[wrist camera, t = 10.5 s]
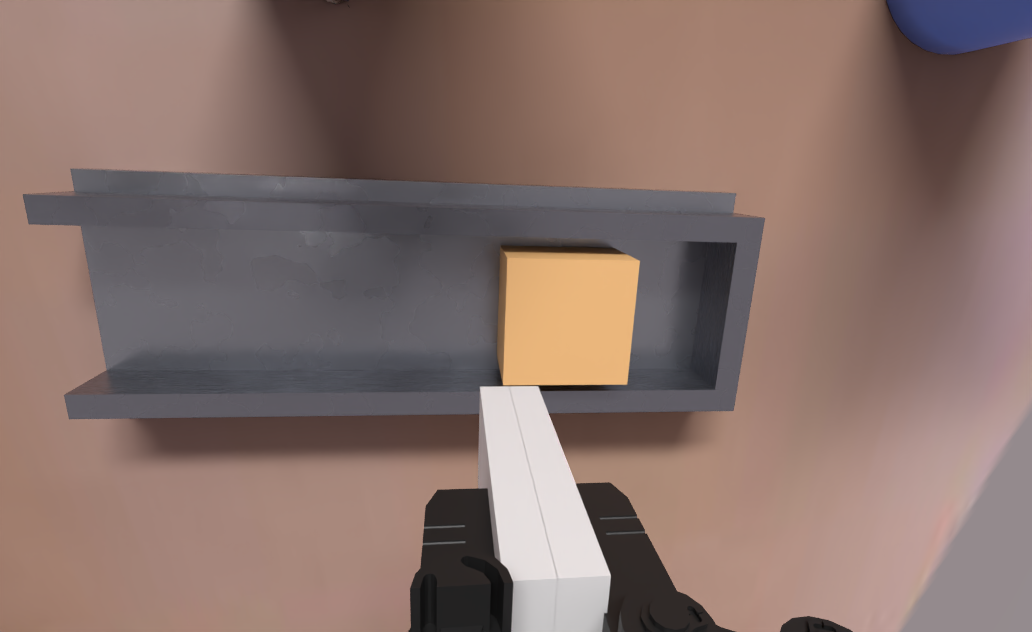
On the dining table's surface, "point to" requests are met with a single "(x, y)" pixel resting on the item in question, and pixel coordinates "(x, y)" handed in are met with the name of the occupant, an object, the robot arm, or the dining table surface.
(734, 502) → the dining table surface
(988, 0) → the water bottle
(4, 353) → the dining table surface
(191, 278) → the chute
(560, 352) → the block
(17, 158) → the dining table surface
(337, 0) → the stone block
